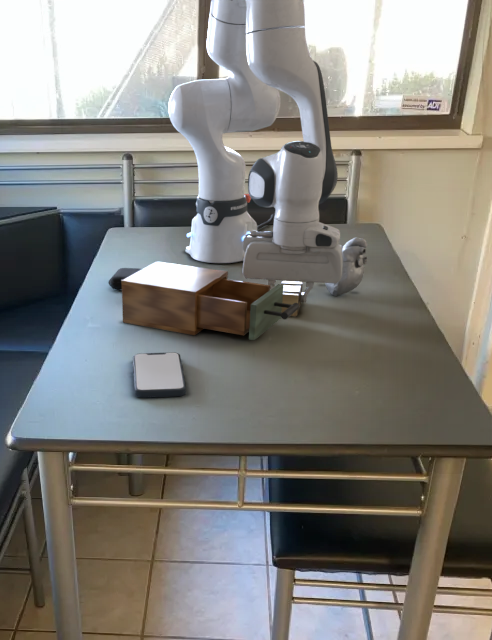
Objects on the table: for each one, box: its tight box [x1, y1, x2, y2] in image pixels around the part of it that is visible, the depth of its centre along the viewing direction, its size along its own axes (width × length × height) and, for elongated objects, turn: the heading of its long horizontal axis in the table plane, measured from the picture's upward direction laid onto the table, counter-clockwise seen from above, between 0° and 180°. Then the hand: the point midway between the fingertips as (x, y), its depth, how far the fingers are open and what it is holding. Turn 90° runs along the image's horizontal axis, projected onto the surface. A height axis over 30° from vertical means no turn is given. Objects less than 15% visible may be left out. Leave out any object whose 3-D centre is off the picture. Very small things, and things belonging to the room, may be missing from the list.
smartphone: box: [132, 351, 187, 399], centre depth 143 cm, size 9×2×16 cm
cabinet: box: [121, 260, 229, 336], centre depth 167 cm, size 17×15×9 cm
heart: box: [324, 237, 368, 297], centre depth 176 cm, size 10×10×12 cm
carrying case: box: [108, 267, 143, 291], centre depth 185 cm, size 11×3×15 cm
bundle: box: [280, 280, 304, 317], centre depth 170 cm, size 9×4×5 cm, turn 164°
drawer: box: [197, 278, 300, 341], centre depth 160 cm, size 20×13×7 cm, turn 59°
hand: (289, 301), depth 171 cm, fingers closed on bundle, 4 cm apart
